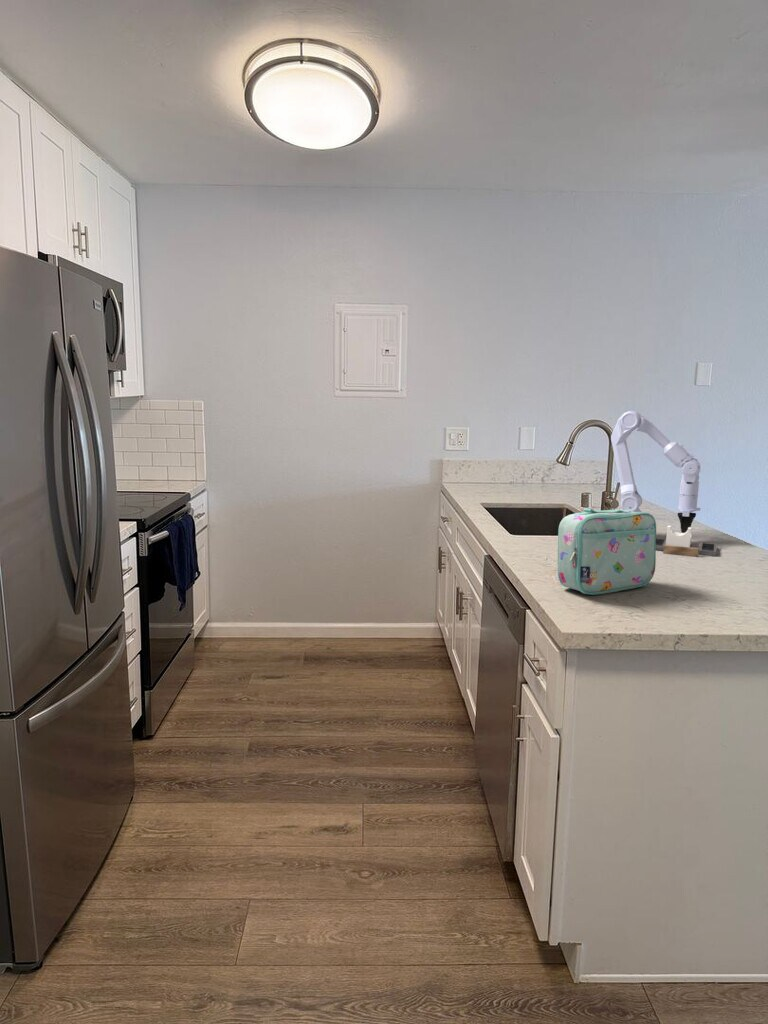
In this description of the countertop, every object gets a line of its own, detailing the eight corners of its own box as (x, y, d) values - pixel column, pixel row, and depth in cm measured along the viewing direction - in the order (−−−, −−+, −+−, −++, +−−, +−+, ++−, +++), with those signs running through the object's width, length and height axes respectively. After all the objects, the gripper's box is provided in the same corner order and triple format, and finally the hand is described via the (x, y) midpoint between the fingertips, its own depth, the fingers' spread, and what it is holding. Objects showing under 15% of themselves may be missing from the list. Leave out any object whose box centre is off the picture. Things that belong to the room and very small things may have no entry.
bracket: (689, 551, 215) (691, 529, 214) (665, 549, 218) (667, 526, 217) (691, 543, 226) (693, 522, 225) (668, 541, 229) (670, 520, 228)
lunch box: (576, 600, 164) (581, 514, 160) (549, 589, 173) (554, 507, 169) (658, 588, 174) (664, 507, 171) (629, 578, 184) (634, 501, 180)
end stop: (663, 553, 212) (663, 545, 212) (663, 552, 213) (664, 544, 213) (697, 556, 208) (698, 549, 207) (697, 555, 209) (698, 548, 209)
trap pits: (647, 549, 217) (647, 544, 217) (651, 541, 228) (651, 537, 228) (715, 556, 208) (716, 551, 208) (716, 548, 219) (717, 543, 219)
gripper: (700, 498, 217) (697, 539, 219) (702, 492, 230) (698, 531, 232) (677, 496, 220) (673, 537, 222) (680, 491, 233) (676, 529, 235)
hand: (685, 534), depth 227 cm, fingers closed
